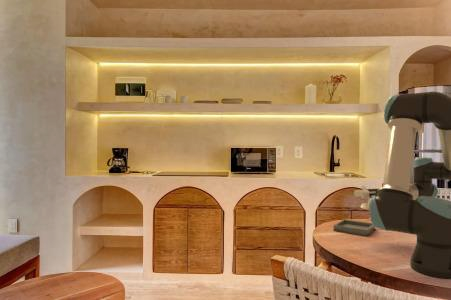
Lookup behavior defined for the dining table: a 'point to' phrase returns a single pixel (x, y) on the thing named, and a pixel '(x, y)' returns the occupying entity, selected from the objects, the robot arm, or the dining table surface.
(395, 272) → the dining table surface
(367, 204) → the white vr controller
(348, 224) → the tray
